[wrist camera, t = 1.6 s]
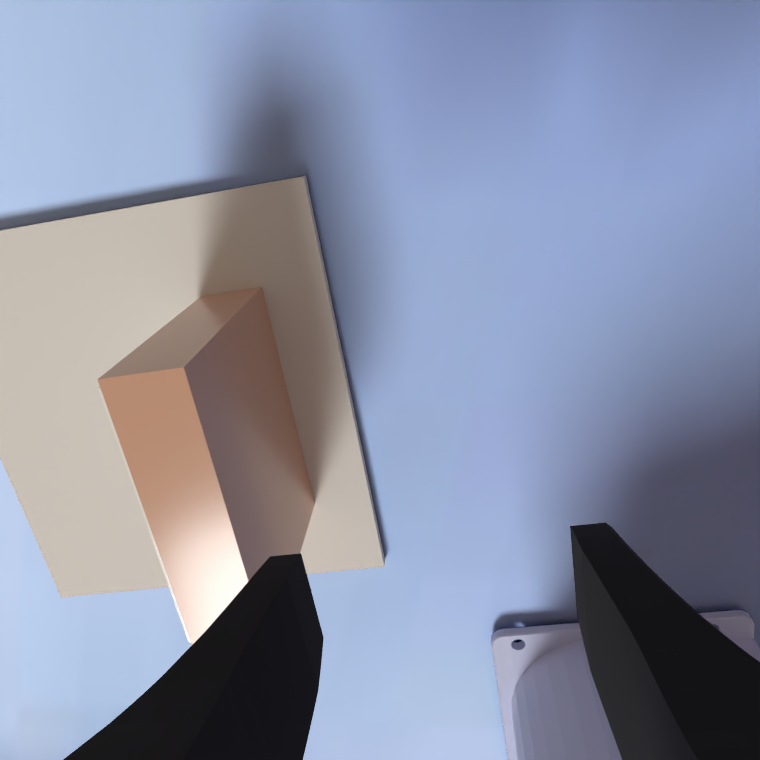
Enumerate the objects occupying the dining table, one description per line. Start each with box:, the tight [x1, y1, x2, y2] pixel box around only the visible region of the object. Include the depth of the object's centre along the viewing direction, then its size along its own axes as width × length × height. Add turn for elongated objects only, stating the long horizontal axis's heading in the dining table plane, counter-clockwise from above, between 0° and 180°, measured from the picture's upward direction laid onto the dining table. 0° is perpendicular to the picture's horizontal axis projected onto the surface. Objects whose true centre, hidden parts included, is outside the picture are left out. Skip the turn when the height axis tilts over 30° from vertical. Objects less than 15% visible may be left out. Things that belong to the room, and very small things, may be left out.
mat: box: [0, 176, 385, 597], centre depth 23 cm, size 13×14×1 cm
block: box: [97, 287, 315, 645], centre depth 19 cm, size 2×8×7 cm, turn 10°
